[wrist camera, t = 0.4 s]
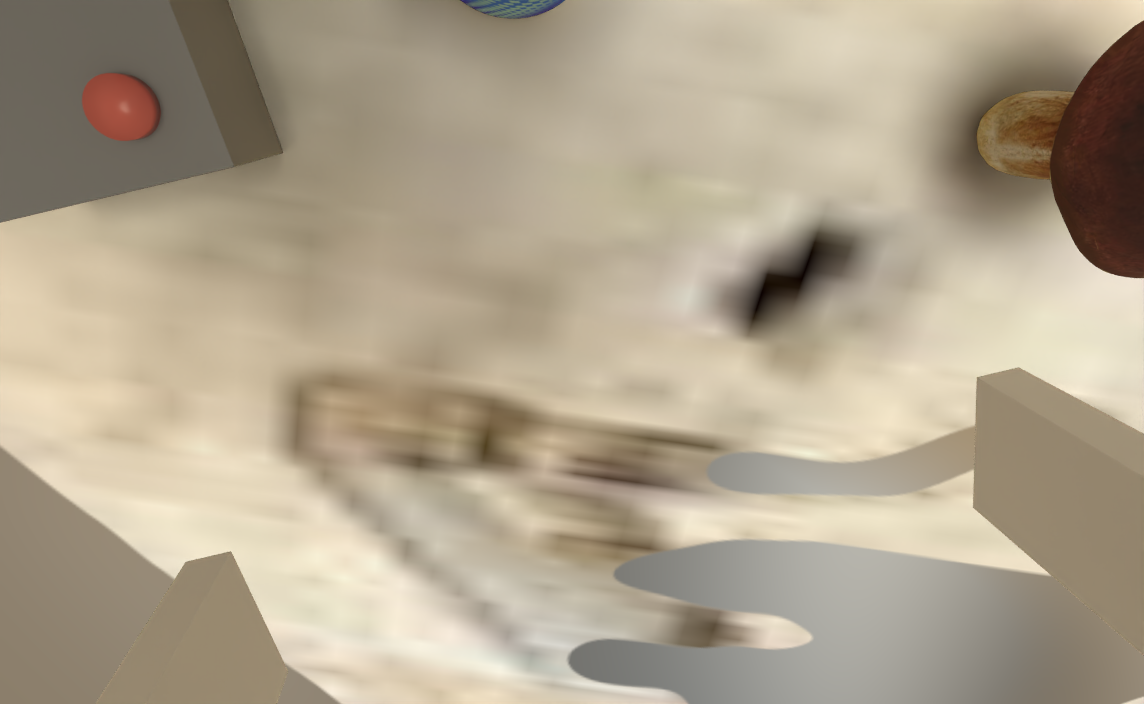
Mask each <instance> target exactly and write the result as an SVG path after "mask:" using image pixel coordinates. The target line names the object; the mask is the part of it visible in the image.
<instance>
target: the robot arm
mask: <svg viewBox="0 0 1144 704" xmlns="http://www.w3.org/2000/svg"><path fill="white" fill-rule="evenodd" d="M973 508H974V509H975V510H977V511H978V512H979V513H980V514H981V515H982V516H983V517H985V518H986V519H987V520H988V521H989V522H990V523H992V524H993V525H994V526H995V527H996V528H997V529H998V530H1000V531H1001V532H1002V533H1003V534H1004V535H1005V536H1006V537H1008V538H1009V539H1010V540H1011V541H1012V542H1013V543H1015V544H1016V545H1017V546H1018V547H1019V548H1020V549H1021V550H1023V551H1024V552H1025V553H1026V554H1027V555H1028V556H1030V557H1031V558H1032V559H1033V560H1034V561H1035V562H1036V563H1038V564H1039V565H1040V566H1041V567H1042V568H1043V569H1044V570H1046V571H1047V572H1048V573H1049V574H1050V575H1051V576H1053V577H1054V578H1055V579H1056V580H1057V581H1058V582H1059V583H1061V584H1062V585H1063V586H1064V587H1065V588H1066V589H1067V590H1069V591H1070V592H1071V593H1072V594H1073V595H1074V596H1076V597H1077V598H1078V599H1079V600H1080V601H1081V602H1083V603H1084V604H1085V605H1086V606H1087V607H1088V608H1090V609H1091V610H1092V611H1093V612H1094V613H1095V614H1096V615H1098V616H1099V617H1100V618H1101V619H1102V620H1103V621H1104V622H1105V623H1107V624H1108V625H1109V626H1110V627H1111V628H1112V629H1114V630H1115V631H1116V632H1117V633H1118V634H1119V635H1120V636H1122V637H1123V638H1124V639H1125V640H1126V641H1127V642H1128V643H1130V644H1131V645H1132V646H1133V647H1134V648H1135V649H1137V650H1138V651H1139V652H1140V653H1141V654H1142V655H1143V656H1144V434H1143V433H1141V432H1139V431H1138V430H1136V429H1134V428H1132V427H1130V426H1128V425H1126V424H1124V423H1122V422H1121V421H1119V420H1117V419H1115V418H1113V417H1111V416H1109V415H1107V414H1105V413H1104V412H1102V411H1100V410H1098V409H1096V408H1094V407H1092V406H1090V405H1088V404H1087V403H1085V402H1083V401H1081V400H1079V399H1077V398H1075V397H1073V396H1071V395H1070V394H1068V393H1066V392H1064V391H1062V390H1060V389H1058V388H1056V387H1055V386H1053V385H1051V384H1049V383H1047V382H1045V381H1043V380H1041V379H1039V378H1038V377H1036V376H1034V375H1032V374H1030V373H1028V372H1026V371H1024V370H1022V369H1021V368H1015V369H1010V370H1006V371H1002V372H998V373H993V374H989V375H985V376H980V377H977V389H976V424H975V460H974V494H973ZM287 674H288V670H287V668H286V666H285V664H284V662H283V660H282V657H281V655H280V653H279V651H278V649H277V647H276V645H275V643H274V641H273V639H272V636H271V634H270V632H269V630H268V628H267V626H266V624H265V622H264V620H263V617H262V615H261V613H260V611H259V609H258V607H257V605H256V603H255V601H254V599H253V596H252V594H251V592H250V590H249V588H248V586H247V584H246V582H245V580H244V577H243V575H242V573H241V571H240V569H239V567H238V565H237V563H236V561H235V559H234V556H233V554H232V552H231V551H230V552H226V553H222V554H218V555H213V556H209V557H205V558H200V559H196V560H192V561H188V562H186V563H185V564H184V566H183V567H182V569H181V570H180V572H179V573H178V575H177V577H176V578H175V580H174V581H173V583H172V584H171V586H170V588H169V589H168V591H167V593H166V594H165V595H164V597H163V599H162V600H161V602H160V603H159V605H158V606H157V608H156V610H155V611H154V613H153V614H152V616H151V617H150V619H149V620H148V622H147V623H146V625H145V627H144V628H143V630H142V631H141V633H140V635H139V636H138V638H137V639H136V641H135V642H134V644H133V645H132V647H131V649H130V650H129V652H128V653H127V655H126V656H125V658H124V659H123V661H122V663H121V664H120V666H119V667H118V669H117V670H116V672H115V674H114V675H113V677H112V678H111V680H110V681H109V683H108V685H107V686H106V688H105V689H104V691H103V693H102V694H101V696H100V697H99V699H98V700H97V702H96V703H95V704H277V703H278V700H279V697H280V694H281V691H282V688H283V685H284V682H285V679H286V676H287Z"/></svg>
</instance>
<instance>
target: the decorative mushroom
mask: <svg viewBox="0 0 1144 704" xmlns="http://www.w3.org/2000/svg"><path fill="white" fill-rule="evenodd" d="M977 144H978V149H979V152H980V154H981V156H982V157H983V159H984V160H985V161H986V162H987V164H988V165H989V166H991V167H993V168H994V169H996V170H998V171H1001V172H1004V173H1007V174H1010V175H1015V176H1021V177H1028V178H1035V179H1050V180H1051V184H1052V188H1053V192H1054V197H1055V200H1056V203H1057V205H1058V208H1059V210H1060V212H1061V215H1062V217H1063V219H1064V222H1065V224H1066V226H1067V228H1068V230H1069V232H1070V235H1071V237H1072V239H1073V241H1074V243H1075V245H1076V246H1077V248H1078V249H1079V251H1080V252H1081V253H1082V254H1083V255H1084V257H1085V258H1086V259H1088V260H1089V261H1090V262H1091V263H1092V264H1093V265H1095V266H1096V267H1098V268H1100V269H1101V270H1103V271H1105V272H1108V273H1111V274H1114V275H1118V276H1124V277H1131V278H1144V21H1142V22H1140V23H1139V24H1137V25H1135V26H1134V27H1133V28H1132V29H1131V30H1129V31H1128V32H1127V33H1126V34H1124V35H1123V36H1122V37H1121V38H1120V39H1119V40H1117V41H1116V42H1115V43H1114V44H1113V45H1112V46H1111V47H1110V48H1109V49H1108V50H1107V51H1106V52H1105V53H1104V54H1103V55H1102V56H1101V57H1100V58H1099V59H1098V60H1097V61H1096V63H1095V64H1094V65H1093V66H1092V67H1091V69H1090V70H1089V71H1088V73H1087V74H1086V76H1085V77H1084V79H1083V80H1082V82H1081V83H1080V85H1079V86H1078V88H1077V89H1076V91H1075V92H1067V91H1029V92H1022V93H1018V94H1015V95H1012V96H1010V97H1007V98H1005V99H1003V100H1001V101H999V102H998V103H997V104H996V105H994V106H993V107H992V108H991V109H990V110H989V111H987V112H986V113H985V114H984V115H983V117H982V119H981V121H980V124H979V127H978V130H977Z"/></svg>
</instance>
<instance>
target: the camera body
mask: <svg viewBox="0 0 1144 704" xmlns="http://www.w3.org/2000/svg"><path fill="white" fill-rule="evenodd" d="M281 153H283V151H282V149H281V146H280V143H279V140H278V138H277V135H276V132H275V129H274V127H273V124H272V121H271V119H270V116H269V113H268V110H267V108H266V105H265V102H264V99H263V97H262V94H261V91H260V88H259V86H258V83H257V80H256V77H255V75H254V72H253V69H252V66H251V64H250V61H249V58H248V56H247V53H246V50H245V47H244V45H243V42H242V39H241V36H240V34H239V31H238V28H237V25H236V23H235V20H234V17H233V14H232V12H231V9H230V6H229V3H228V1H227V0H0V223H1V222H5V221H9V220H13V219H17V218H22V217H26V216H30V215H34V214H38V213H43V212H47V211H51V210H55V209H59V208H64V207H68V206H72V205H76V204H80V203H85V202H89V201H93V200H97V199H101V198H106V197H110V196H114V195H118V194H122V193H127V192H131V191H135V190H139V189H143V188H148V187H152V186H156V185H160V184H164V183H169V182H173V181H177V180H181V179H185V178H190V177H194V176H198V175H202V174H206V173H211V172H215V171H219V170H223V169H227V168H232V167H236V166H239V165H243V164H246V163H249V162H253V161H256V160H260V159H263V158H267V157H270V156H274V155H277V154H281Z"/></svg>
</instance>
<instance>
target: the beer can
mask: <svg viewBox="0 0 1144 704" xmlns="http://www.w3.org/2000/svg"><path fill="white" fill-rule="evenodd" d="M461 1H462V2H464V3H465V4H467V5H468V6H470V7H472V8H474V9H475V10H478V11H480V12H482V13H485V14H488V15H491V16H496V17H501V18H510V19H512V18H526V17H531V16H535V15H539V14H541V13H544V12H546V11H549V10H551V9H553V8H554V7H556V6H558V5H559V4H561V3H562V2H563V1H565V0H461Z"/></svg>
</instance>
